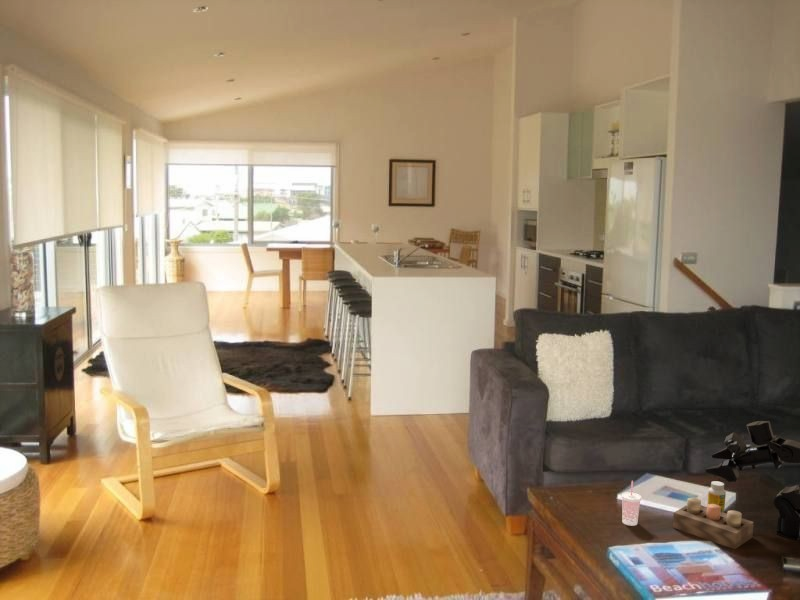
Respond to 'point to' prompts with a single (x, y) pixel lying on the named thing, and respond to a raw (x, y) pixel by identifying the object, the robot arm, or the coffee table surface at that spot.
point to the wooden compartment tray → (713, 527)
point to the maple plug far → (693, 505)
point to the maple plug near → (734, 519)
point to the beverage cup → (630, 507)
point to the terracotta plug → (713, 512)
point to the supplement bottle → (717, 494)
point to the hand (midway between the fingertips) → (708, 463)
